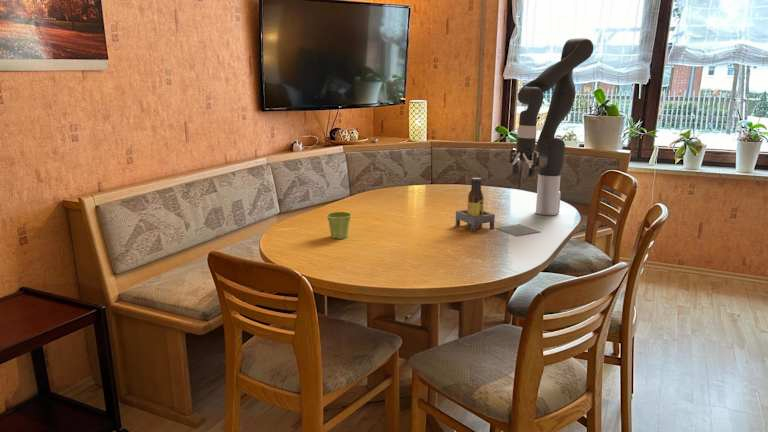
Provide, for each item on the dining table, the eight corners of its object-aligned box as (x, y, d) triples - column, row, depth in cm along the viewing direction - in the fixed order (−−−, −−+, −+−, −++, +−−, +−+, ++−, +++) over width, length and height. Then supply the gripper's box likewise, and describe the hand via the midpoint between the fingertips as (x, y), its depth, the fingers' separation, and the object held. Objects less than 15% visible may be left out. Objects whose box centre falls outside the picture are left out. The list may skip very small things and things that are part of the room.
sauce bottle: (482, 229, 227) (484, 180, 222) (466, 229, 228) (468, 179, 223) (482, 225, 233) (485, 177, 228) (467, 224, 235) (469, 176, 230)
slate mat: (519, 224, 234) (519, 224, 234) (540, 232, 224) (540, 231, 224) (496, 228, 229) (496, 227, 228) (516, 236, 218) (516, 235, 218)
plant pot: (332, 241, 211) (332, 219, 209) (323, 235, 219) (322, 213, 217) (355, 238, 215) (355, 216, 213) (345, 232, 224) (345, 210, 221)
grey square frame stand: (475, 222, 238) (476, 208, 237) (494, 228, 228) (494, 214, 227) (455, 225, 233) (456, 211, 232) (473, 232, 224) (473, 217, 222)
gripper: (546, 138, 234) (542, 177, 237) (520, 134, 245) (516, 172, 249) (533, 138, 230) (529, 178, 233) (507, 135, 241) (504, 173, 245)
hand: (522, 175), depth 241 cm, fingers open, 8 cm apart
